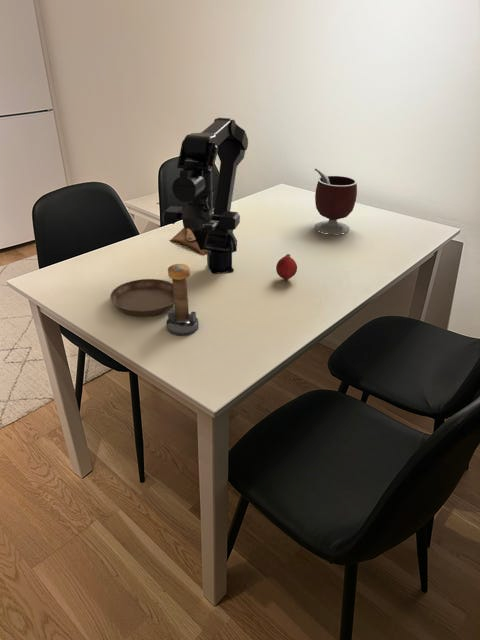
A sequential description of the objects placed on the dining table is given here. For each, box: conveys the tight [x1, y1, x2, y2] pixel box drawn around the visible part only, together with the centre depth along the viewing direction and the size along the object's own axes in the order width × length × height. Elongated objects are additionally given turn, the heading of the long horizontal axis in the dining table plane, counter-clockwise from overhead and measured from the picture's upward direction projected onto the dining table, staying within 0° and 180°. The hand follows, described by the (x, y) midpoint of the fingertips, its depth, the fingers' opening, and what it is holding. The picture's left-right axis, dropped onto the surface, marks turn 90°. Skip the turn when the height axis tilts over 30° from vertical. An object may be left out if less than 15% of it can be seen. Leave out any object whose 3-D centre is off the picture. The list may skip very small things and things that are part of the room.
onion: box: [275, 253, 298, 281], centre depth 138 cm, size 6×6×8 cm
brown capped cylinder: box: [167, 263, 191, 321], centre depth 113 cm, size 5×5×13 cm
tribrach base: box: [165, 308, 199, 337], centre depth 117 cm, size 8×8×4 cm
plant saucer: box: [110, 278, 174, 317], centre depth 127 cm, size 18×18×3 cm
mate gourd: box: [314, 167, 358, 234], centre depth 171 cm, size 16×14×20 cm
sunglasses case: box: [169, 227, 209, 256], centre depth 161 cm, size 18×7×7 cm, turn 47°
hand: (202, 249), depth 128 cm, fingers closed
